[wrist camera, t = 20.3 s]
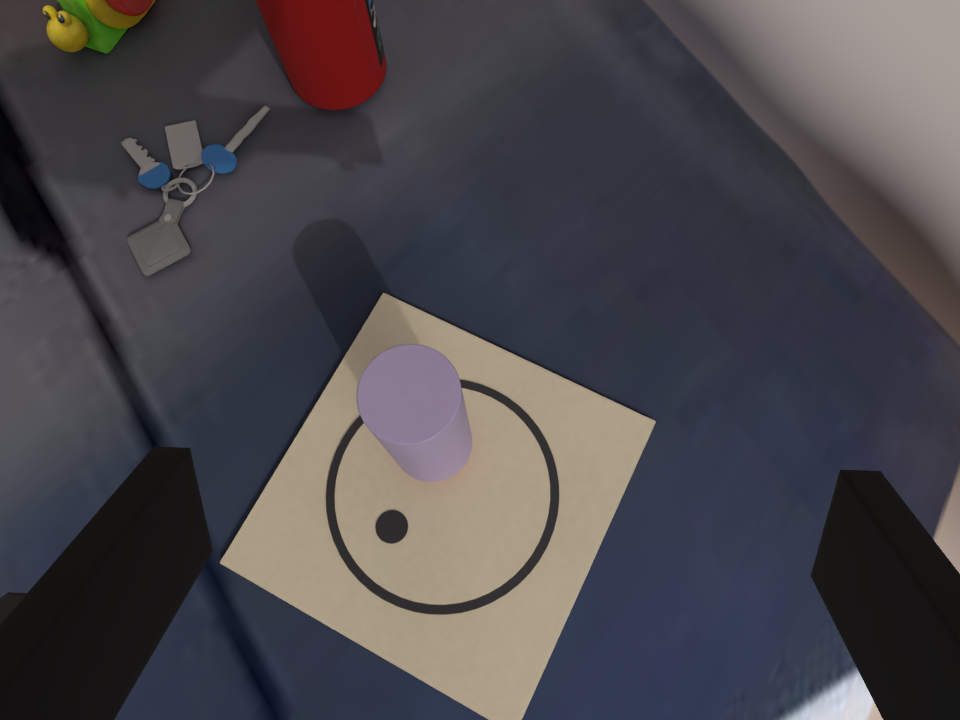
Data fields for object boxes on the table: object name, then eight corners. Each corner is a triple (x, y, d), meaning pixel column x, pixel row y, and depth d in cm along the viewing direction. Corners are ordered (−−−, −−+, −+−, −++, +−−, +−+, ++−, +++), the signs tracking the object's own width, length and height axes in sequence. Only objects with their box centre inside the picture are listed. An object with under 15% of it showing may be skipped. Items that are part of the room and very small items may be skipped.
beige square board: (654, 422, 40) (656, 420, 39) (514, 733, 35) (515, 735, 35) (384, 294, 43) (382, 290, 43) (221, 563, 38) (217, 562, 38)
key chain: (174, 287, 44) (168, 281, 43) (64, 247, 45) (56, 241, 44) (273, 113, 48) (269, 104, 47) (169, 80, 49) (164, 72, 48)
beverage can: (407, 61, 49) (376, -101, 38) (355, 132, 47) (307, -15, 36) (327, 26, 50) (274, -141, 39) (273, 94, 48) (202, -60, 37)
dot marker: (487, 430, 40) (479, 370, 29) (450, 499, 38) (429, 463, 28) (419, 396, 40) (389, 327, 30) (381, 463, 39) (336, 415, 29)
